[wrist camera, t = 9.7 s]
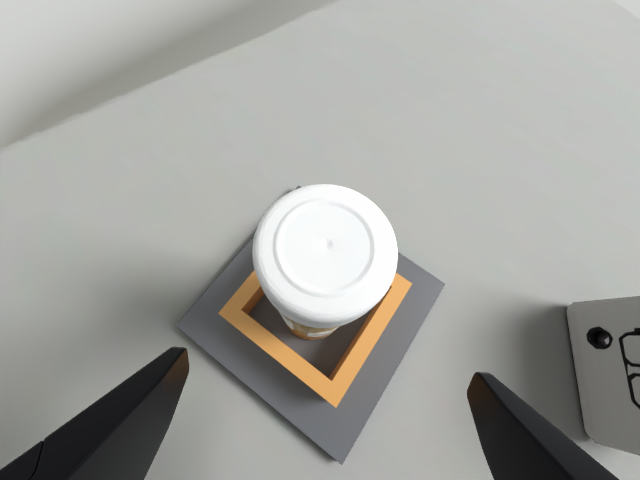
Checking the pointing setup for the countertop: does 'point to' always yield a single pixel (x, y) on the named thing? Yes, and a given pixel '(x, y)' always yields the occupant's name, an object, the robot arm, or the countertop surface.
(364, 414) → the socket
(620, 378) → the electrical switch
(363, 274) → the sprinkles bottle
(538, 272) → the countertop surface
